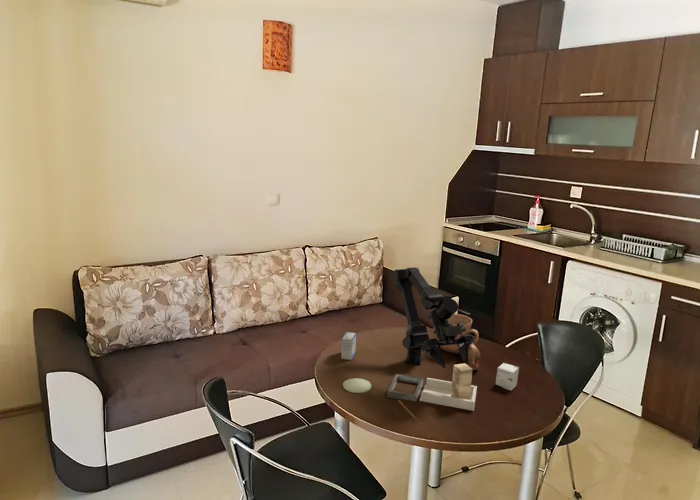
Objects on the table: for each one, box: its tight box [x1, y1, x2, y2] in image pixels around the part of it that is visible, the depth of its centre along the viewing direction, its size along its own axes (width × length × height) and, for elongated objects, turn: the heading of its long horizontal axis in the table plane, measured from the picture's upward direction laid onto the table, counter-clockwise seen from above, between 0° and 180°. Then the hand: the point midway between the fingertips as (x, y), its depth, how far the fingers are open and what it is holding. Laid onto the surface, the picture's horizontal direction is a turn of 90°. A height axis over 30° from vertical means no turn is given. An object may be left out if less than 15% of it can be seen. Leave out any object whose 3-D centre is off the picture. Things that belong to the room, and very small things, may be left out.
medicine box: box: [340, 331, 357, 361], centre depth 208 cm, size 8×4×9 cm, turn 168°
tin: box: [468, 342, 482, 371], centre depth 203 cm, size 15×3×8 cm, turn 5°
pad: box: [342, 377, 372, 394], centre depth 183 cm, size 10×10×1 cm
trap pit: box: [386, 373, 424, 402], centre depth 181 cm, size 14×10×2 cm
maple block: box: [451, 362, 473, 400], centre depth 174 cm, size 4×4×12 cm
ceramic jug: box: [440, 313, 480, 355], centre depth 217 cm, size 18×14×14 cm
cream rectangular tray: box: [419, 377, 478, 412], centre depth 176 cm, size 12×18×4 cm, turn 72°
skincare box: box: [495, 362, 520, 392], centre depth 187 cm, size 6×6×7 cm
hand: (455, 366), depth 177 cm, fingers open, 9 cm apart
